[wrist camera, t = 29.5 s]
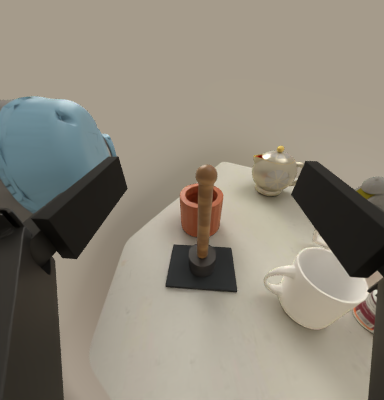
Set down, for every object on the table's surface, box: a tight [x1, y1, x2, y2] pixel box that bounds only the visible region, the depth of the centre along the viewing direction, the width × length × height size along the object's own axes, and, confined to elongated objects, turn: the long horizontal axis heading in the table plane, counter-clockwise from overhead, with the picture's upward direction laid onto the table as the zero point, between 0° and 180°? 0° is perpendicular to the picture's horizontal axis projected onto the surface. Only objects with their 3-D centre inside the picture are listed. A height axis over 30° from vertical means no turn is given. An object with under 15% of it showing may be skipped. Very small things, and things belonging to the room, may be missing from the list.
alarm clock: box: [355, 177, 384, 210], centre depth 41 cm, size 12×7×15 cm, turn 89°
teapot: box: [252, 146, 304, 196], centre depth 55 cm, size 18×14×16 cm
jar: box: [180, 183, 223, 237], centre depth 44 cm, size 11×11×10 cm
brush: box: [189, 165, 217, 277], centre depth 29 cm, size 6×6×24 cm
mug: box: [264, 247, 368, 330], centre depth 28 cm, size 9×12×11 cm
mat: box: [166, 245, 237, 292], centre depth 36 cm, size 14×10×1 cm
